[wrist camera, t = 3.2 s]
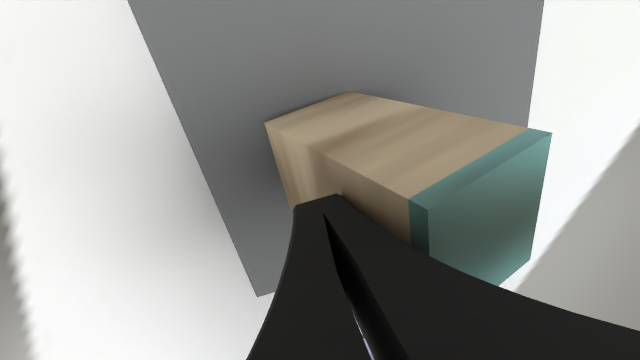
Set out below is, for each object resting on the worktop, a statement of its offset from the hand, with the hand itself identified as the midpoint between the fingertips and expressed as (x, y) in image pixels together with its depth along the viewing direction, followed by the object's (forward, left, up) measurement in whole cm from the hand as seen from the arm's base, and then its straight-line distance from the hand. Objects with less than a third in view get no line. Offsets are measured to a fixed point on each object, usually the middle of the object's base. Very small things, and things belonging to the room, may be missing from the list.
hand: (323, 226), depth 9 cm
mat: (0, -4, -6) cm, 7 cm away
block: (0, -1, -5) cm, 5 cm away
